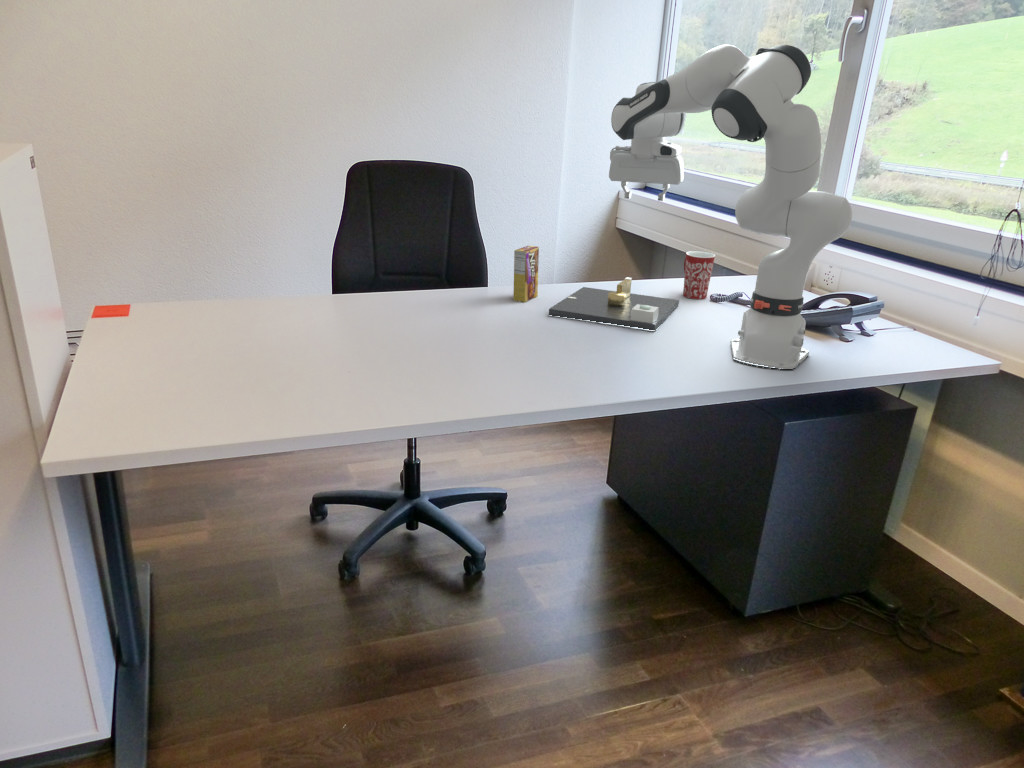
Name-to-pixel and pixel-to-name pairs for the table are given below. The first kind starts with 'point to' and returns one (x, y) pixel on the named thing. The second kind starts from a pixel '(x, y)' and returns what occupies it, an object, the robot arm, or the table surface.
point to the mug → (697, 274)
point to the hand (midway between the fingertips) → (644, 199)
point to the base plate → (615, 309)
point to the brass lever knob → (620, 293)
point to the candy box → (526, 273)
